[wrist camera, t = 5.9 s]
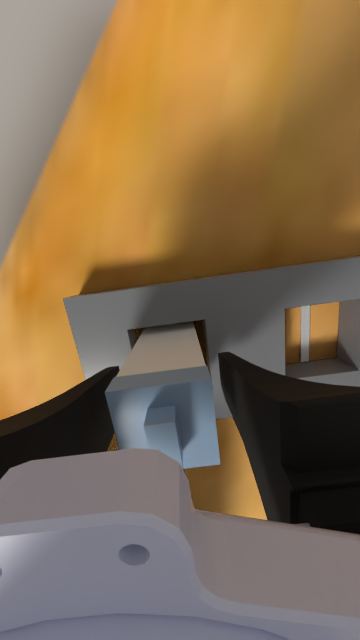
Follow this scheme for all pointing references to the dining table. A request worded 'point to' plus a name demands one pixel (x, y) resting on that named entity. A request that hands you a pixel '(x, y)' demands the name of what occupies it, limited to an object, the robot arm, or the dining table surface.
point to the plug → (166, 397)
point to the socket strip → (229, 319)
